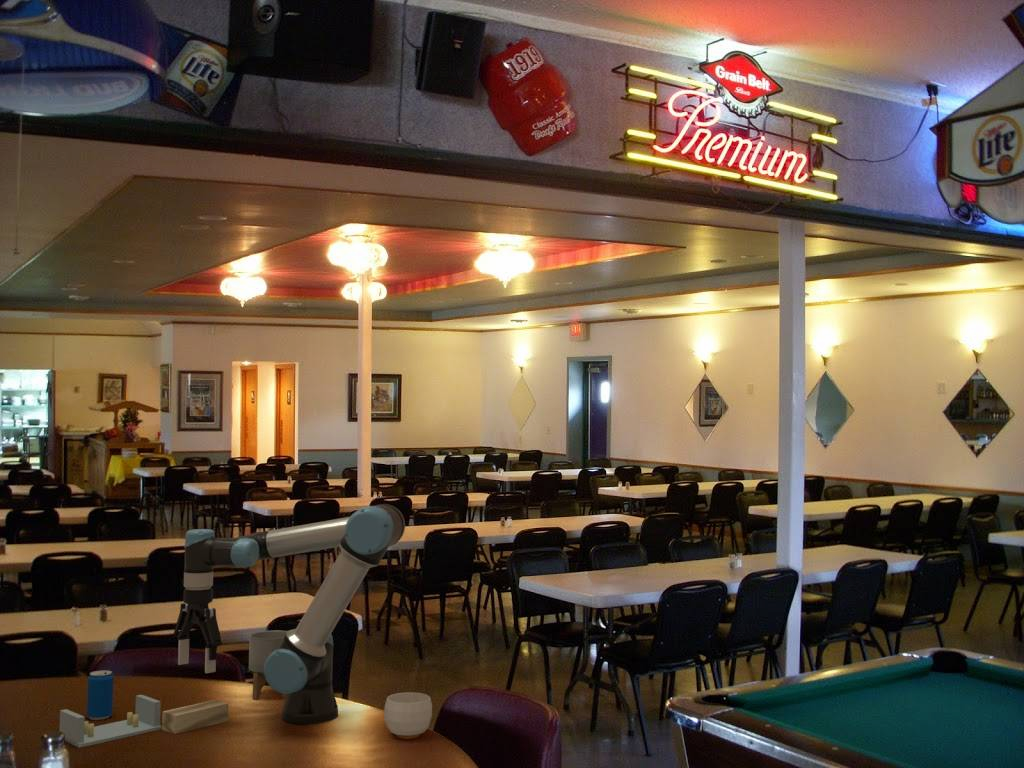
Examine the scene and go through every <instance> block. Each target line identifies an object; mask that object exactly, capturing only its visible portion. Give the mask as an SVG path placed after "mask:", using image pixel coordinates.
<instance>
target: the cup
mask: <svg viewBox="0 0 1024 768" xmlns="http://www.w3.org/2000/svg"><path fill="white" fill-rule="evenodd" d="M383 709H384V713H383V714H384V715H383V716H384V717H383V718H384V721H385V722H384V723H385V724H386V727H387V729H388V730H389V732H391V733H392V734H395V735H396V737H397V738H399V739H404V740H407V739H410V740H411V739H415V738H418V737H419V736H420V735H421V734H423V733H425V732H426V730H428V728H429V727H430V725H431V724H430V723H431V720H432V716H433V715H432V714H433V704H432V699H431V696H430V695H428V694H426V693H422V692H413V691H411V692H398V693H393V694H390V695H388V696H387V698H386V701H385V705H384V708H383Z"/></svg>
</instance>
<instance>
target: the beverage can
mask: <svg viewBox="0 0 1024 768" xmlns="http://www.w3.org/2000/svg"><path fill="white" fill-rule="evenodd" d="M114 678H115V677H114V675H113V671H111V670H104V669H103V670H102V669H101V670H96V671H91V672H90V673H89V676H88V677H87V697H86V699H87V700H86V701H87V702H86V703H87V704H86V717H87V718H89V719H90V720H92V721H101V720H106V719H109V718H110V716H112V715H113V713H114V712H113V710H114Z"/></svg>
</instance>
